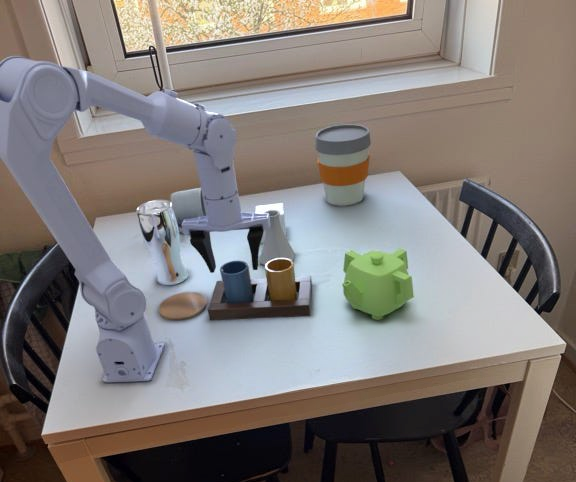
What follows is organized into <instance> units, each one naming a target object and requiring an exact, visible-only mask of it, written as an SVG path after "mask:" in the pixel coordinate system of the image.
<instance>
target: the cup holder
mask: <svg viewBox="0 0 576 482" xmlns="http://www.w3.org/2000/svg"><path fill="white" fill-rule="evenodd" d="M295 280H296V290H297V293H298V296H297V300H279V301H270V300H269V293H268V286H267V279H266V277H265V278H264V277H263V278H251V284H252V290H253V296H254V301H253V302H240V303H227V302H226V298H225V293H224V288H223V283H222V280H216V282H215V285H214V288H213V290H212V291H213V292H212V295H211V297H210V301H209V304H208V308H207V314H208V319H209V321H220V320H221V321H222V320H223V321H224V320H241V319H243V320H244V319H245V320H246V319H262V318H263V319H264V318H282V317H285V318H286V317H305V316H306V317H307V316H311V307H312V306H311V305H312V291H313V290H312V289H313V282H312V275H299V276H296V275H295Z"/></svg>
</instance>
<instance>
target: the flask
mask: <svg viewBox="0 0 576 482" xmlns="http://www.w3.org/2000/svg"><path fill="white" fill-rule="evenodd" d="M264 214H269V218H270V228H269V230H266V234H265V239H264V243H262V244H263V245H262V250H261V254H260V258H259V261H258V264H261V265H263V266H265V264H266V263H267V262H268V261H270V260H272V259H276V258H288V259H290V260H292V261H294V260H295V257H296V252H295V251H294V250H293V247H292V246H291V244H290V242H289V240H288V238H287V235H286V236H285V234H284V232H283V230H282V227H281V224H280V220H279V215H280V211H277V210H268V211H266V212H264Z"/></svg>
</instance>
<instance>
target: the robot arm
mask: <svg viewBox="0 0 576 482" xmlns="http://www.w3.org/2000/svg"><path fill="white" fill-rule="evenodd" d="M178 95H179V94H178V92H176V91H174V90H171V89H167V88H165V89H164V91H161V90H157V91H154V92H152V93H151V94H149V95H148V96H146V95H144V94H141V93H140V92H137V91H134V90H132V89H130V88H128V87H125V86H123V85H121V84H118V83H116V82H114V81H112V80H109V79H107V78H105V77H102V76H101V75H97V74H96V73H93V72H91V71H88V70H84V69H79V68H74V67H69V66H64V65H59V64H57V63H55V62H51V61H47V60H46V61H45V60H39V61H38V60H33V59H31V58H27V57H25V56H22V55H10V56H8V57H5V58H4V59H2V60H1V61H0V159H1V161H2V162H3V164H4V165H5V166H6V168H7V169H8V171H9V172H10V174H11V176H12V177H13V179H14V180H15V182H16V183H17V185H18V186H19V188H20V189H21V191H22V192H23V193H24V195H25V196H26V198H27V199H28V201H29V202H30V204H31V205H32V207H33V208H34V210H35V211H36V213H37V215H38V216H39V218H40V219H41V220H42V222H43V224H44V225H45V227H47V229H48V231H49V232H50V234H51V235H52V237H53V238H54V240H55V241H56V243H57V244H58V246H59V247H60V249H61V250H62V251H63V253H64V254H65V257H66V258H67V259H68V260H69V262H70V263H71V265H72V266H73V268H74V269H75V271H74V276H75V277H76V279H77V281H78V283H79V285H80V286H79V290H80V295H81V297H82V299H83V300H84V302H85V303H86V304H88V305H89V306H92V307H93V308H94V317H95V322H96V324H97V327H98V333H99V336H98V340H97V341H98V342H97V344H96V346H95V347H96V349H95V351H96V355H97V357H98V359H99V362H100V364H101V367H102V369H103V372H104V374H103V375H104V376H103V378H102V382H103V383H123V382H124V383H128V382H149V381H151V380H152V379H153V376H154V374H155V371H156V368H157V366H158V364H159V361H160V358H161V356H162V353H163V350H164V348H165V344H164V343H163V342H156V343H154V339H153V336H152V334H151V331H150V328H149V327H150V326H149V325H148V321H147V318H146V314H145V311H146V309H147V298H146V295H145V294H144V292H143V291H142V290H141V289H140V288H139V287H137V286H135V285H134V284H132V283H131V282H130V281H129V280H128V277H127V276H126V275H125V274H124V273H123V271H122V270H121V269H120V267H118V265H116V263H115V262H114V261H113V260H112V259H111V256H110V255H109V254H108V252H107V251H106V249H105V247H104V245H103V244H102V242H101V240H100V238H99V237H98V235H97V233H96V232H95V231H94V229H93V228H92V226H91V224H90V222H89V220H88V219H87V217H86V216H85V214H84V212H83V211H82V209H81V207H80V205H79V203H78V202H77V200H76V199H75V198H74V196H73V194H72V193H71V191H70V189H69V187H68V185H67V184H66V182H65V180H64V179H63V178H62V176H61V174H60V172H59V171H58V169H57V167H56V166H55V163H54V162H53V161H52V159H51V156H50V155H51V152H52V149H53V145H54V142H55V140H56V138H57V136H58V135H59V134H60V133H61V132H62V130H63V129H64V127H65V126H66V124H67V123H68V122H69V121H70V119H71V117H72V116H73V115H74V112H76V111H77V112H80V113H83V112H85V111H87V110H89V109H90V108H92V107H97V108H100V109H104V110H107V111H110V112H112V113H116V114H119V115H122V116H125V117H129V118H131V119H134V120H137V121H140V122H141V123H142V126H143V128H144V130H145V132H146V133H148V135H149V136H152V137H155V138H159V139H161V140H164V141H167V142H169V143H173V144H175V145H179V146H181V147H184V148H187V149H188V150H190V151H192V150H193V151H192V153H193V157H194V163H195V167H196V172H197V176H198V182H199V187H200V188H201V191H202V196H203V201H204V206H205V210H206V215H207V216H203V217H198V218H193V219H186V220H184V221H183V223H182V224H181V228H182V229H183V233H182V234H183V236H189V237H190V239H189V243H190V245H191V246H192V247H193V248H194V249H195V251H197V252H198V253H199V256H201V258H202V260H203V261H204V262H205V264H206V267H207V268H208V271H209V273H211V274H212V273H213V274H214V273H215V272H216V269H217V263H216V258H215V255H214V252H213V248H212V247H213V246H212V240H211V239H212V238H211V233H213V232H217V233H221V232H223V233H225V232H229V231H241V230H248V231H247V236H246V241H247V243H248V246H249V251H250V256H251V265H252V266H251V267H252V270H253V271H258V270H259V269H258V268H259V254H260V247H261V246H260V245H261V244H262V243H261V240H262V236H263V232H264V230H269V228H270V218H269V214H257V213H255V212H245V211H242V208H241V202H240V196H239V191H238V182H237V178H236V171H235V166H234V161H235V157H234V149H235V146H236V144H237V138H238V137H237V135H238V134H237V130H236V129H235V128H233V124H232V122H230V121H229V118H228V117H227V116H225V115H224V114H220V113H216V112H211V111H207V110H206V109H205V108H206V106H205V105H204V104H202V103H199V102H195V103H194V104H193V103H190V102H188V101H186V100H184V99H180V98H178ZM260 243H261V244H260Z"/></svg>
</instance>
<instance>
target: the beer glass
mask: <svg viewBox="0 0 576 482" xmlns="http://www.w3.org/2000/svg"><path fill="white" fill-rule="evenodd" d="M135 211H136V215H137V218H138V224H139V229H140V232H141V235H142V238H143V241H144V243H145V245H146V247H147V249H148V252H149V253H150V255H151V258H152V260H153V261H154V265H155V267H156V268H155V269H156V277H157V282H158V283H159V284H160V285H163V286H175V285H178V284H181V283H183V282H184V281H186V279H187V278H188V276H189V274H188V271H187V268H186V267H185V264H184V262H183V258H182V250H181V237H180V236H181V235H180V232H179V228H178V227H179V224H177V220H176V217H175V214H174V211H173V208H172V205H171V202H170V201H169V200H167V199H153V200H148V201H145V202H143V203H141V204H139V205H138V206H137V208H136V210H135Z"/></svg>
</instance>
